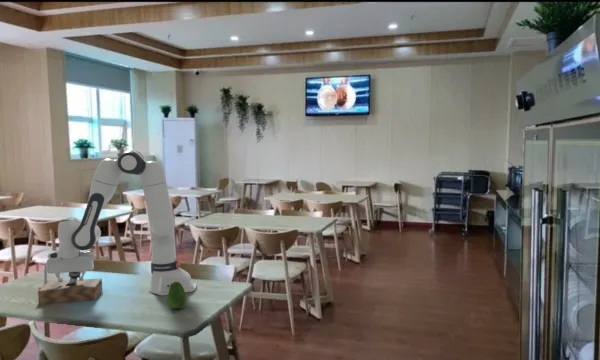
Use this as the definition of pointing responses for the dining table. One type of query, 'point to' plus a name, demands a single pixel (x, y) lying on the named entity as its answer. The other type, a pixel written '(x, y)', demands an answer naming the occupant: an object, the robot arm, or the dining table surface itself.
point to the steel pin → (73, 278)
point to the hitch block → (70, 291)
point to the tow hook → (44, 276)
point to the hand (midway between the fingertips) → (71, 281)
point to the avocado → (176, 296)
